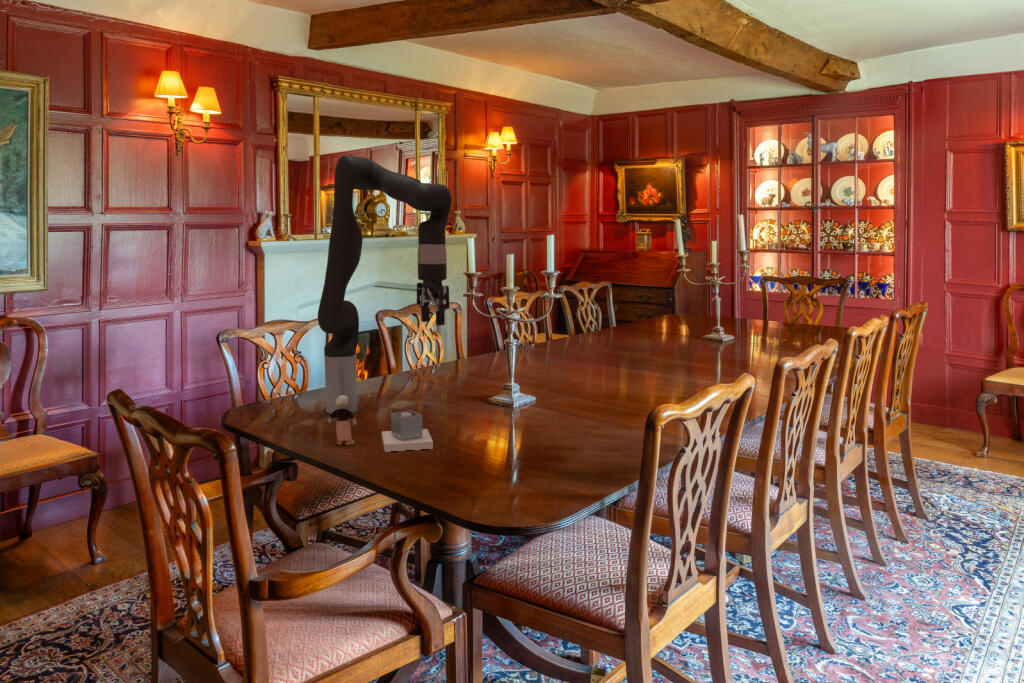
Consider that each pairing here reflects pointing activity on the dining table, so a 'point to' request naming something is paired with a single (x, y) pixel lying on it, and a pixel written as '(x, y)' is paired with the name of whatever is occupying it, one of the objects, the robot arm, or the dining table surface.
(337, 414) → the grandmother figurine
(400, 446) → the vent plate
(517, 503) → the dining table surface
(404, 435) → the collar
